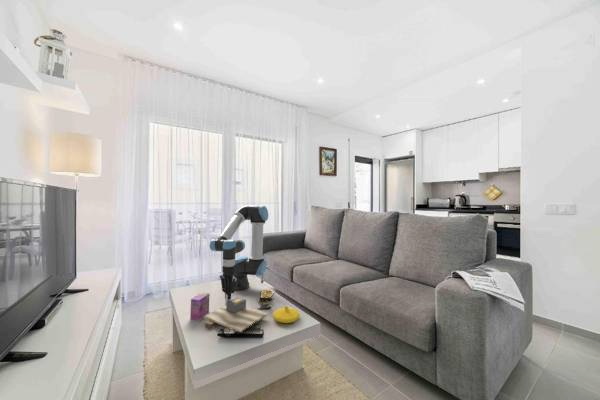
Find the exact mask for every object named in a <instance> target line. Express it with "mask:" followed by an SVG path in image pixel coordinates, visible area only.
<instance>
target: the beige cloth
mask: <svg viewBox="0 0 600 400" xmlns="http://www.w3.org/2000/svg"><path fill="white" fill-rule="evenodd" d="M268 315H269V313H268V312H265V311H261V310H258V309H255V308H252V307H249V306H246V308H245V309H243V310H241V311H239V312H237V313H235V314H234V313H232V312H229V311H226V305H224V306H221V307H219V308H218V309H215V310H214V311H211V312H210V313H207V314H206V315H205V316H204V317H203V319H205V320H207V321H205V322H204V328H205V329H209V330H211V329H214V328H215V327H217V326H219V325H221V326H224V327H225V328H224V329H223V330H226V329H230V328H232V329H235V330H237V331H238V332H239V333H242V332H243V330H244V331H245V330H246V328H247V329H249V326H250V325H251V326H253V325H254V324H253V323H254V322H256V321H258V322H259V321H260V320H262V319H264V318H266V317H267V316H268ZM256 323H257V322H256ZM252 324H253V325H252ZM251 326H250V327H251Z"/></svg>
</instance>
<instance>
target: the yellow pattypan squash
mask: <svg viewBox="0 0 600 400" xmlns="http://www.w3.org/2000/svg"><path fill="white" fill-rule="evenodd" d="M300 316H301V313H300V312H299V311H298V310H297V309H295V308H293V307H289V306H285V307H280V308H277V309H276V310H275V311H274V312H273V313H272V317H273V319H274V320H275V321H276V322H278V323H282V324H291V323H294V322H296V321H298V320H299V319H300Z"/></svg>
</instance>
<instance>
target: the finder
mask: <svg viewBox="0 0 600 400" xmlns="http://www.w3.org/2000/svg"><path fill="white" fill-rule="evenodd" d="M225 306H226V311H229V312H232V313H234V314H235V313H237V312H239V311H241V310H243V309H245V308H246V307H247V299H245V298H241V297H238V296H237V297H235V298H231V300H230V301H228V302H226V305H225Z"/></svg>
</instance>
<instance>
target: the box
mask: <svg viewBox="0 0 600 400" xmlns="http://www.w3.org/2000/svg"><path fill="white" fill-rule="evenodd" d="M209 312H210V293H209V292H199V293H198V294H196V295H195V296H194V297H192V298H190V314H189V315H190V320H191V321H192V320H194V321H200V320H201V319H203V318H204V316H205V315H207V314H209Z"/></svg>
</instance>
